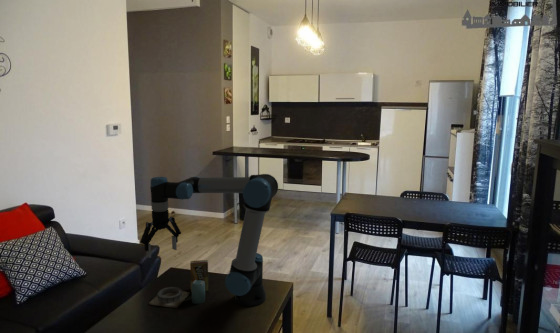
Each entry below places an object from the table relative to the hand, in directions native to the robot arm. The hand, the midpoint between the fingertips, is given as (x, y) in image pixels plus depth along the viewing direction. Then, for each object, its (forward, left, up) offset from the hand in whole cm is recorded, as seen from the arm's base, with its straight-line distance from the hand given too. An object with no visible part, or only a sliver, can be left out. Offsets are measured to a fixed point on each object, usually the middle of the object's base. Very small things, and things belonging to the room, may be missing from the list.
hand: (162, 253), depth 180 cm
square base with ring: (-3, -2, -24) cm, 24 cm away
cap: (-17, -4, -24) cm, 29 cm away
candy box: (-13, -14, -24) cm, 31 cm away
